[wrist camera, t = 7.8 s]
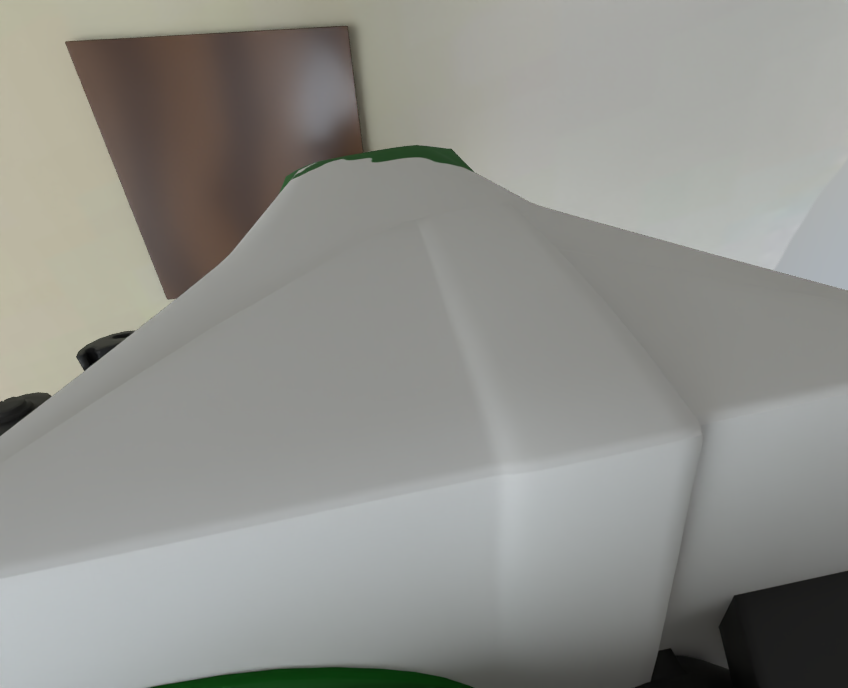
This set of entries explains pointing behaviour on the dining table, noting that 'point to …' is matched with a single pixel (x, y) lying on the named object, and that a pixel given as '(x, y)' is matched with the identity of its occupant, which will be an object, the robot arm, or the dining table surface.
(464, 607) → the soya milk
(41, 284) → the dining table surface
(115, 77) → the walnut board
